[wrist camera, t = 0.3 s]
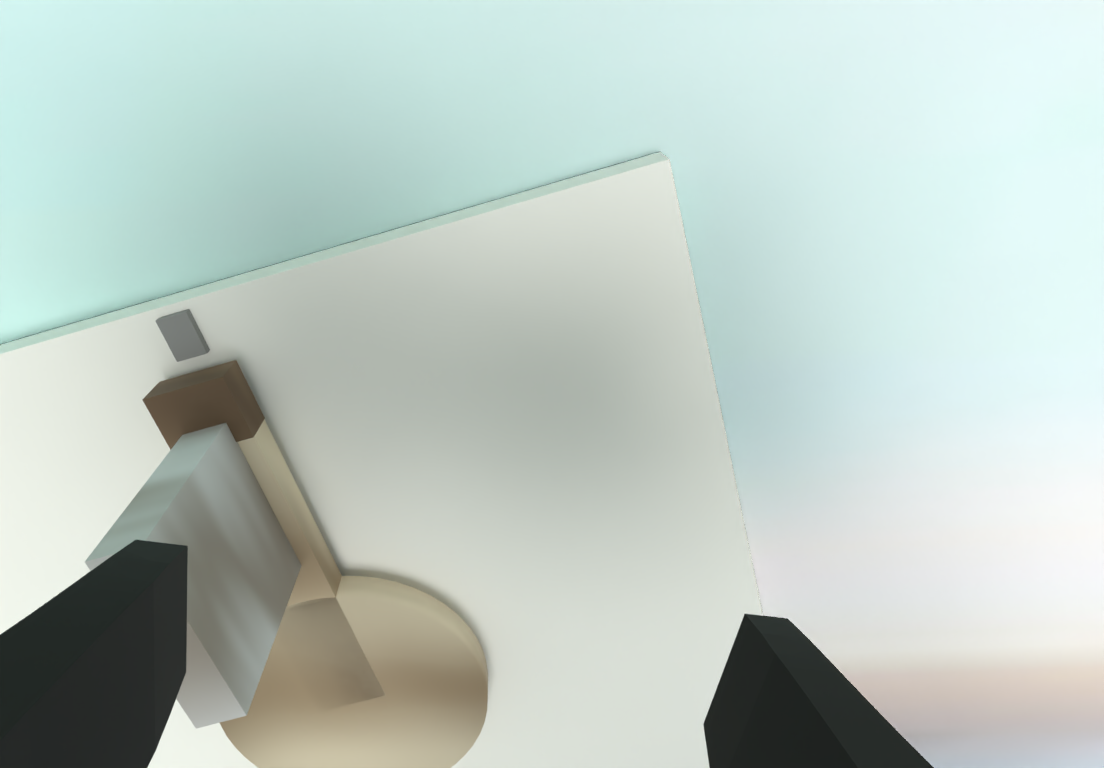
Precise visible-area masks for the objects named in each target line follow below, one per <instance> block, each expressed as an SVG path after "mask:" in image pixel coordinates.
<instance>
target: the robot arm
mask: <svg viewBox="0 0 1104 768" xmlns="http://www.w3.org/2000/svg"><path fill="white" fill-rule="evenodd" d="M187 563H188V546H185V545H177V544H169V543H161V542H152V541H144V540H134V541H133V542H131V543H130V544H128V545H127V546H125V547H124V548H123V549H121V550H120V551H118V552H117V553H115V554H114V555H112V556H111V557H109V558H108V559H107V560H105V561H104V562H102V563H101V564H100V565H98V566H97V567H95V568H94V569H93V570H91V571H90V572H88V573H87V574H86V575H84V576H83V577H81V578H80V579H79V580H77V581H76V582H75V583H73V584H72V585H70V586H69V587H68V588H66V589H65V590H63V591H62V592H61V593H59V594H58V595H56V596H55V597H53V598H52V599H51V600H49V601H48V602H46V603H45V604H44V605H42V606H41V607H39V608H38V609H37V610H35V611H34V612H32V613H31V614H29V615H28V616H26V617H25V618H24V619H22V620H21V621H19V622H18V623H16V624H15V625H13V626H12V627H10V628H9V629H7V630H6V631H5V632H3V633H2V634H0V768H147V767H148V765H149V763H150V761H151V759H152V757H153V755H154V753H155V751H156V749H157V746H158V744H159V741H160V739H161V736H162V734H163V731H164V729H165V726H166V724H167V721H168V719H169V716H170V714H171V711H172V708H173V706H174V703H175V700H176V698H177V695H178V692H179V690H180V687H181V685H182V682H183V679H184V677H185V674H186V652H187ZM703 726H704V733H705V740H706V747H707V753H708V760H709V767H710V768H933V767H932V766H931V765H930V764H929V763H928V762H927V761H926V760H925V759H924V758H923V757H922V756H921V755H920V754H919V753H918V752H917V751H916V750H915V749H914V748H913V747H912V746H911V745H910V744H909V743H908V742H907V741H906V740H905V739H904V738H903V737H902V736H901V735H900V734H899V733H898V732H897V731H896V730H895V729H894V728H893V727H892V725H891V724H890V723H889V722H888V721H887V720H886V719H885V718H884V717H883V716H882V715H881V714H880V713H879V712H878V711H877V710H876V709H875V708H874V707H873V706H872V705H871V704H870V703H869V702H868V701H867V700H866V699H865V698H864V697H863V695H862V694H861V693H860V692H859V691H858V690H857V689H856V688H855V687H854V686H853V685H852V684H851V683H850V682H849V681H848V680H847V679H846V678H845V677H844V676H843V674H842V673H841V672H840V671H839V670H838V669H837V668H836V667H835V666H834V665H833V664H832V663H831V662H830V661H829V660H828V659H827V658H826V657H825V656H824V655H823V654H822V652H821V651H820V650H819V649H818V648H817V647H816V646H815V645H814V644H813V643H812V642H811V641H810V640H809V639H808V638H807V637H806V636H805V635H804V634H803V633H802V632H801V631H800V630H799V629H798V628H797V627H796V626H795V625H794V624H793V623H792V622H790V621H789V620H788V619H786V618H778V617H769V616H761V615H753V614H744V617H743V620H742V622H741V625H740V628H739V630H738V633H737V636H736V638H735V641H734V644H733V646H732V649H731V652H730V654H729V657H728V660H727V662H726V665H725V668H724V670H723V673H722V676H721V678H720V681H719V684H718V686H717V689H716V692H715V694H714V697H713V700H712V702H711V705H710V708H709V710H708V713H707V716H706V718H705V721H704V724H703Z"/></svg>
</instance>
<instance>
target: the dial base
mask: <svg viewBox="0 0 1104 768" xmlns="http://www.w3.org/2000/svg"><path fill="white" fill-rule="evenodd" d="M234 360H236V361H237V363H238V365H239V367H240V369H241V371H242V373H243V375H244V377H245V379H246V381H247V383H248V385H249V387H250V389H251V391H252V393H253V395H254V397H255V399H256V401H257V403H258V405H259V407H260V409H261V411H262V413H263V415H264V417H265V422H266V424H267V426H268V428H269V430H270V432H271V434H272V436H273V438H274V440H275V442H276V444H277V446H278V448H279V450H280V452H281V454H282V456H283V458H284V460H285V462H286V464H287V466H288V468H289V470H290V472H291V474H292V476H293V478H294V480H295V482H296V484H297V486H298V488H299V490H300V492H301V494H302V496H303V498H304V500H305V502H306V504H307V506H308V508H309V510H310V512H311V514H312V516H313V519H314V521H315V523H316V525H317V527H318V529H319V531H320V533H321V535H322V537H323V539H324V541H325V543H326V545H327V547H328V549H329V551H330V553H331V555H332V557H333V559H334V561H335V563H336V565H337V567H338V569H339V571H340V573H341V575H342V576H365V577H374V578H381V579H386V580H390V581H395V582H399V583H402V584H405V585H408V586H411V587H414V588H416V589H418V590H420V591H422V592H425V593H427V594H429V595H431V596H433V597H434V598H436V599H437V600H439V601H441V602H442V603H444V604H445V605H447V606H448V607H449V608H450V609H452V610H453V611H454V612H455V613H457V614H458V615H459V616H460V617H461V618H462V619H463V620H464V622H465V623H466V624H467V625H468V626H469V627H470V629H471V630H472V632H473V633H474V634H475V636H476V637H477V639H478V641H479V643H480V645H481V647H482V649H483V652H484V656H485V659H486V662H487V669H488V703H487V713H486V718H485V722H484V725H483V728H482V730H481V733H480V735H479V736H478V738H477V740H476V741H475V743H474V745H473V746H472V747H471V749H470V750H469V751H468V752H467V753H466V755H465V756H464V757H463V758H462V759H460V760H459V761H458V762H457V763H456V764H455V765H454V766H452V767H451V768H710V767H709V760H708V753H707V747H706V740H705V733H704V726H703V724H704V721H705V718H706V716H707V713H708V710H709V708H710V705H711V702H712V700H713V697H714V694H715V692H716V689H717V686H718V684H719V681H720V678H721V676H722V673H723V670H724V668H725V665H726V662H727V660H728V657H729V654H730V652H731V649H732V646H733V644H734V641H735V638H736V636H737V633H738V630H739V628H740V625H741V622H742V620H743V617H744V614H753V615H761V616H763V611H762V607H761V602H760V597H759V592H758V587H757V582H756V577H755V573H754V568H753V563H752V558H751V553H750V548H749V543H748V538H747V534H746V529H745V524H744V519H743V514H742V509H741V504H740V500H739V495H738V490H737V485H736V480H735V475H734V470H733V465H732V461H731V456H730V451H729V446H728V441H727V436H726V431H725V427H724V422H723V417H722V412H721V407H720V402H719V397H718V392H717V388H716V383H715V378H714V373H713V368H712V363H711V358H710V354H709V349H708V344H707V339H706V334H705V329H704V324H703V319H702V315H701V310H700V305H699V300H698V295H697V290H696V285H695V281H694V276H693V271H692V266H691V261H690V256H689V251H688V246H687V242H686V237H685V232H684V227H683V222H682V217H681V212H680V208H679V203H678V198H677V193H676V188H675V183H674V178H673V173H672V169H671V164H670V159H669V158H668V157H666V156H665V155H664V154H663V153H662V152H658V153H654V154H651V155H647V156H644V157H641V158H637V159H634V160H630V161H627V162H623V163H620V164H617V165H613V166H610V167H606V168H603V169H599V170H596V171H593V172H589V173H586V174H582V175H579V176H576V177H572V178H569V179H565V180H562V181H558V182H555V183H552V184H548V185H545V186H541V187H538V188H534V189H531V190H528V191H524V192H521V193H517V194H514V195H510V196H507V197H504V198H500V199H497V200H493V201H490V202H487V203H483V204H480V205H476V206H473V207H469V208H466V209H463V210H459V211H456V212H452V213H449V214H445V215H442V216H439V217H435V218H432V219H428V220H425V221H422V222H418V223H415V224H411V225H408V226H404V227H401V228H398V229H394V230H391V231H387V232H384V233H380V234H377V235H374V236H370V237H367V238H363V239H360V240H357V241H353V242H350V243H346V244H343V245H339V246H336V247H333V248H329V249H326V250H322V251H319V252H315V253H312V254H309V255H305V256H302V257H298V258H295V259H292V260H288V261H285V262H281V263H278V264H274V265H271V266H268V267H264V268H261V269H257V270H254V271H250V272H247V273H244V274H240V275H237V276H233V277H230V278H227V279H223V280H220V281H216V282H213V283H209V284H206V285H203V286H199V287H196V288H192V289H189V290H185V291H182V292H179V293H175V294H172V295H168V296H165V297H161V298H158V299H155V300H151V301H148V302H144V303H141V304H138V305H134V306H131V307H127V308H124V309H120V310H117V311H114V312H110V313H107V314H103V315H100V316H96V317H93V318H90V319H86V320H83V321H79V322H76V323H73V324H69V325H66V326H62V327H59V328H55V329H52V330H49V331H45V332H42V333H38V334H35V335H31V336H28V337H25V338H21V339H18V340H14V341H11V342H8V343H4V344H1V345H0V634H2V633H3V632H5V631H6V630H7V629H9V628H10V627H12V626H13V625H15V624H16V623H18V622H19V621H21V620H22V619H24V618H25V617H26V616H28V615H29V614H31V613H32V612H34V611H35V610H37V609H38V608H39V607H41V606H42V605H44V604H45V603H46V602H48V601H49V600H51V599H52V598H53V597H55V596H56V595H58V594H59V593H61V592H62V591H63V590H65V589H66V588H68V587H69V586H70V585H72V584H73V583H75V582H76V581H77V580H79V579H80V578H81V577H83V576H84V575H86V574H87V573H88V572H90V569H89V568H88V566H87V565H86V563H85V561H86V559H87V558H88V557H89V555H90V554H91V553H92V552H93V550H94V549H95V548H96V546H97V545H98V544H99V542H100V541H101V540H102V539H103V537H104V536H105V535H106V533H107V532H108V531H109V529H110V528H111V527H112V526H113V524H114V523H115V522H116V520H117V519H118V518H119V516H120V515H121V514H122V513H123V511H124V510H125V509H126V507H127V506H128V505H129V503H130V502H131V501H132V500H133V498H134V497H135V496H136V494H137V493H138V492H139V491H140V489H141V488H142V487H143V485H144V484H145V483H146V481H147V480H148V479H149V478H150V476H151V475H152V474H153V472H154V471H155V470H156V468H157V467H158V466H159V465H160V463H161V462H162V461H163V459H164V458H165V457H166V455H167V454H168V453H169V452H170V448H169V446H168V444H167V443H166V441H165V439H164V437H163V436H162V434H161V432H160V430H159V428H158V427H157V425H156V423H155V421H154V420H153V418H152V416H151V414H150V413H149V411H148V409H147V407H146V405H145V404H144V402H143V400H142V399H143V398H144V397H145V396H146V395H147V394H148V393H149V392H150V391H151V390H152V389H153V388H154V387H155V386H156V385H157V384H158V383H159V382H160V381H164V380H167V379H171V378H174V377H178V376H181V375H185V374H188V373H192V372H195V371H199V370H202V369H206V368H209V367H213V366H216V365H220V364H223V363H227V362H230V361H234ZM147 768H258V767H257V766H255V765H254V764H253V763H251V762H250V761H249V760H248V759H246V758H245V757H244V756H243V755H242V754H241V753H240V752H239V751H238V750H237V749H236V748H235V746H234V745H233V744H232V743H231V741H230V740H229V739H228V737H227V736H226V734H225V732H224V730H223V729H222V727H221V725H220V723H216V724H212V725H208V726H204V727H200V728H197V729H196V728H195V726H194V725H193V723H192V722H191V720H190V719H189V717H188V716H187V714H186V713H185V711H184V710H183V708H182V707H181V705H180V704H179V702H178V701H177V699H176V700H175V703H174V706H173V708H172V711H171V714H170V716H169V719H168V721H167V724H166V726H165V729H164V731H163V734H162V736H161V739H160V741H159V744H158V746H157V749H156V751H155V753H154V755H153V757H152V759H151V761H150V763H149V765H148V767H147Z"/></svg>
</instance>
